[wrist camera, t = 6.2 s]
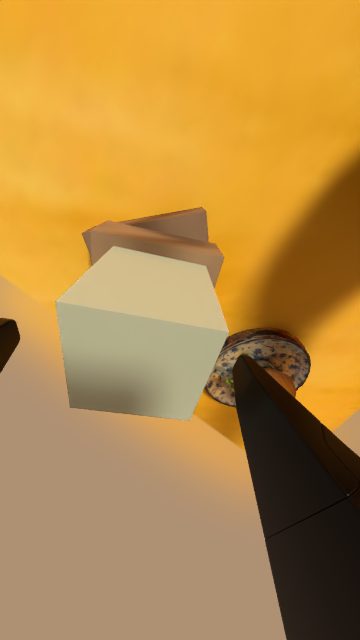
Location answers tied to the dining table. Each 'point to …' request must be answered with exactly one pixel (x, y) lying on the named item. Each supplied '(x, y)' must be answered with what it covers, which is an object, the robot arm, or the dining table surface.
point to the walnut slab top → (155, 245)
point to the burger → (260, 361)
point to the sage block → (140, 335)
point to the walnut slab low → (169, 224)
